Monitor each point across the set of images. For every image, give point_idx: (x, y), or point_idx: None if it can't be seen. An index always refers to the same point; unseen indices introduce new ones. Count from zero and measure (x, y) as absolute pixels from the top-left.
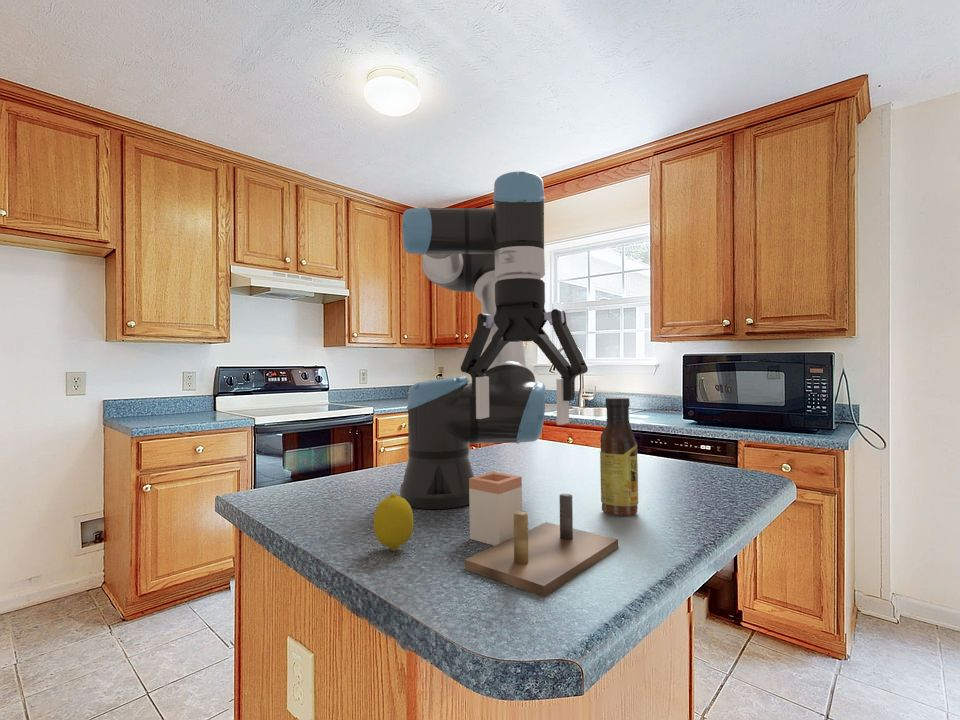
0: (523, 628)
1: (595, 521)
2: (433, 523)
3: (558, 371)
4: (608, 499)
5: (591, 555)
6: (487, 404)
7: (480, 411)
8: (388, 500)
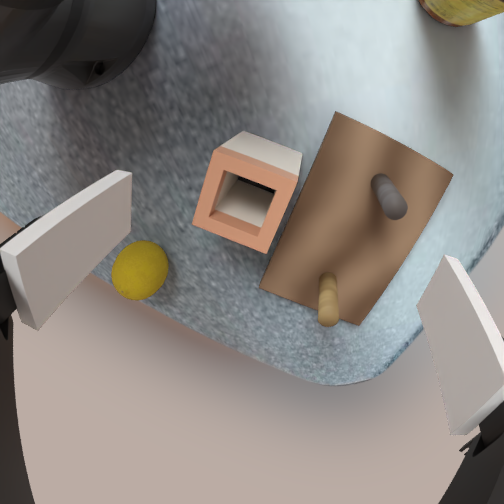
0: (344, 359)
1: (412, 48)
2: (142, 139)
3: (464, 459)
4: (441, 12)
5: (413, 243)
6: (103, 203)
7: (117, 242)
8: (127, 297)
